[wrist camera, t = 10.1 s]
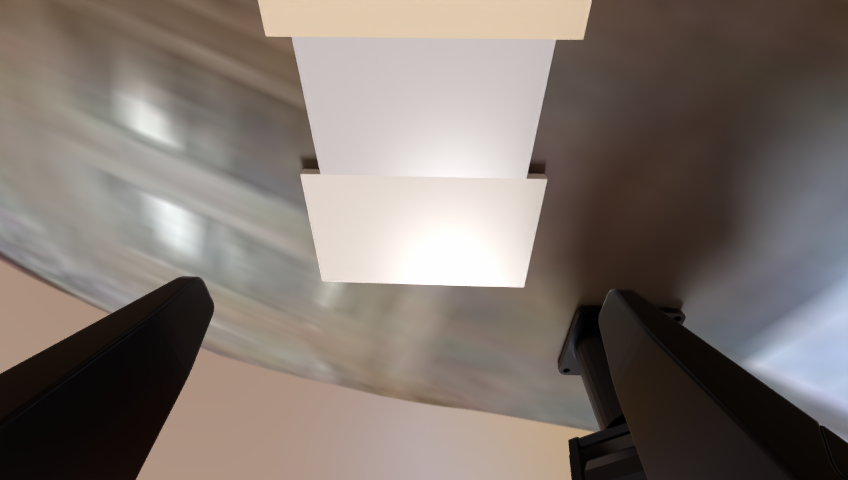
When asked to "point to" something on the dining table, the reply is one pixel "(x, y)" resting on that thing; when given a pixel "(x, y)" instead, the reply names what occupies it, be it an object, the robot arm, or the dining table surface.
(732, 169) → the dining table surface
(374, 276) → the dock
